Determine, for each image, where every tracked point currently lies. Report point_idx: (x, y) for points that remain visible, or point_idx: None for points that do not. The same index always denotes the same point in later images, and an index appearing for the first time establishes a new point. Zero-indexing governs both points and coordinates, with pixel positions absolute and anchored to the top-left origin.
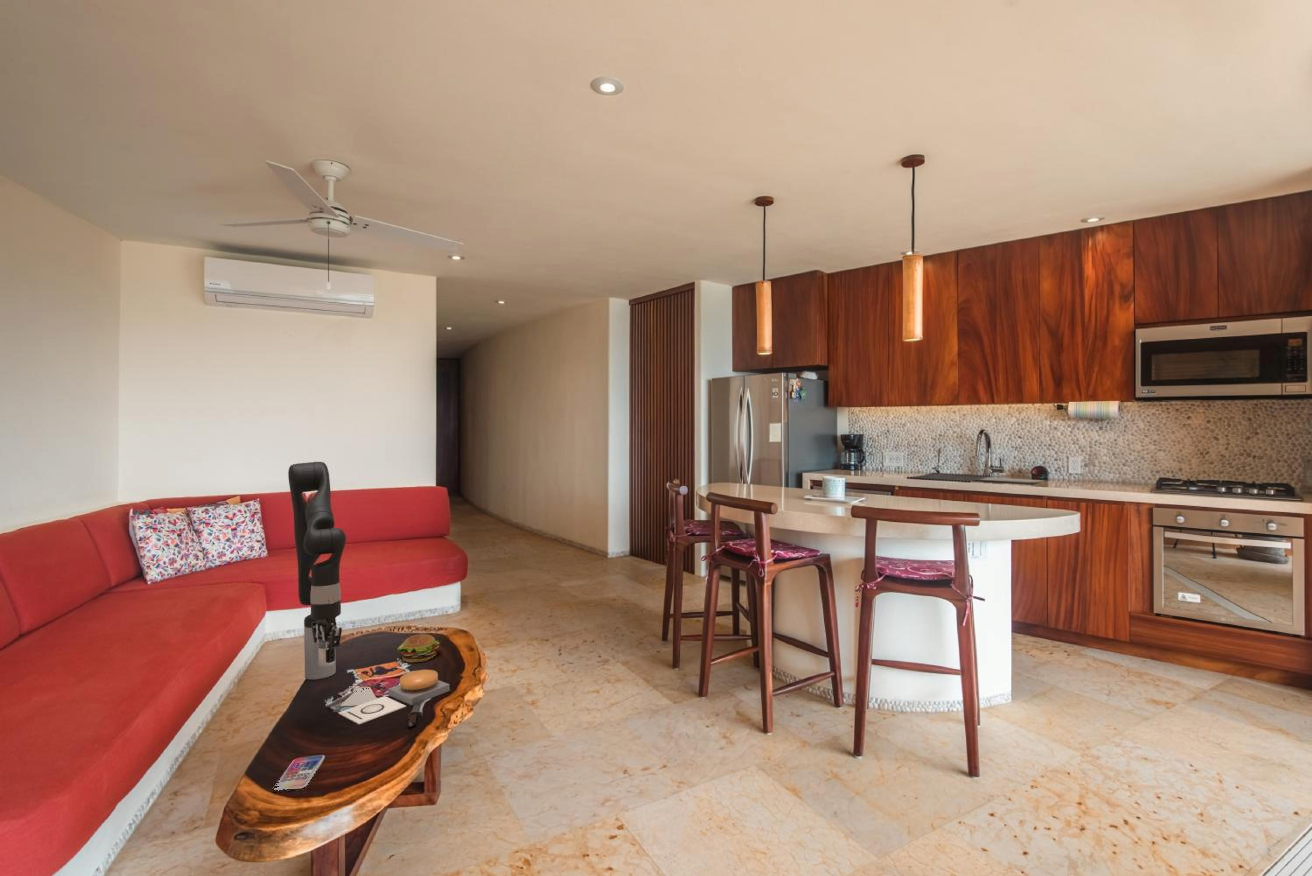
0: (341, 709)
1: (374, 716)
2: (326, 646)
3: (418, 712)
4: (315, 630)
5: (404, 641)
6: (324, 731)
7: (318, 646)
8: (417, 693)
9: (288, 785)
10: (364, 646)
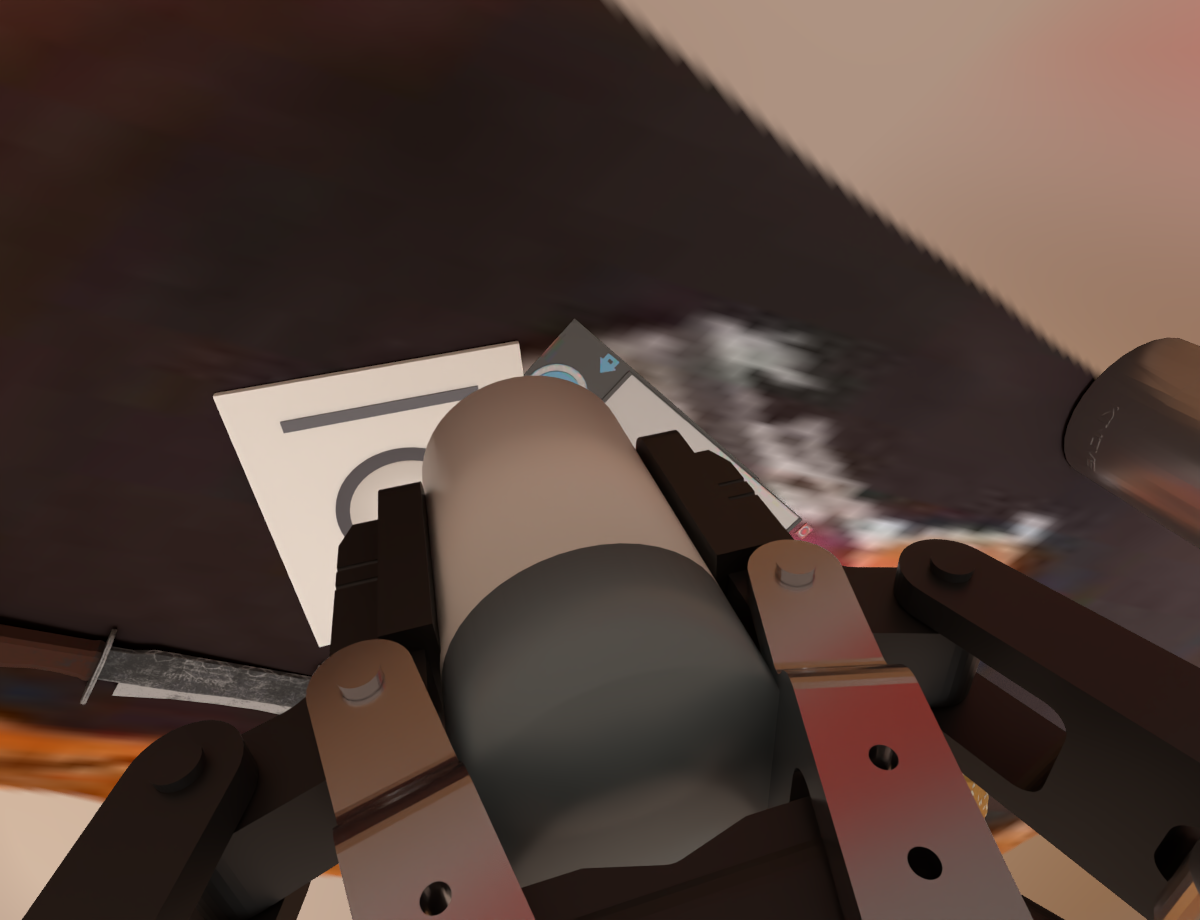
0: (569, 372)
1: (272, 494)
2: (368, 703)
3: (85, 691)
4: (1164, 777)
5: (974, 788)
6: (252, 175)
7: (618, 565)
8: None
9: None
10: (1193, 619)
